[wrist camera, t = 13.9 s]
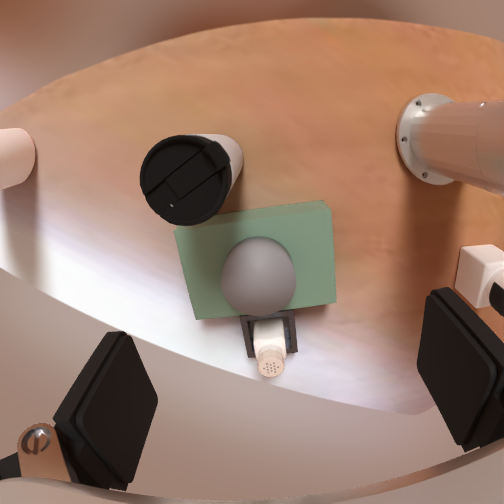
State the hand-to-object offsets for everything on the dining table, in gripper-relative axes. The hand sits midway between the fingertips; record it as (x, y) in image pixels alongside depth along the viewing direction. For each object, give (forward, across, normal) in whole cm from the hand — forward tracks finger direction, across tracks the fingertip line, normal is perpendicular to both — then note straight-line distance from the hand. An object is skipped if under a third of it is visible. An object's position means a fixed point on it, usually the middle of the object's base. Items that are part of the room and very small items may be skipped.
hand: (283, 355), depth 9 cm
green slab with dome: (+32, +2, +9) cm, 33 cm away
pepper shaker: (+32, +2, +20) cm, 38 cm away
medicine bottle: (+32, -32, +16) cm, 48 cm away
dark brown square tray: (+32, +2, +20) cm, 38 cm away
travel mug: (+32, +5, -4) cm, 33 cm away
